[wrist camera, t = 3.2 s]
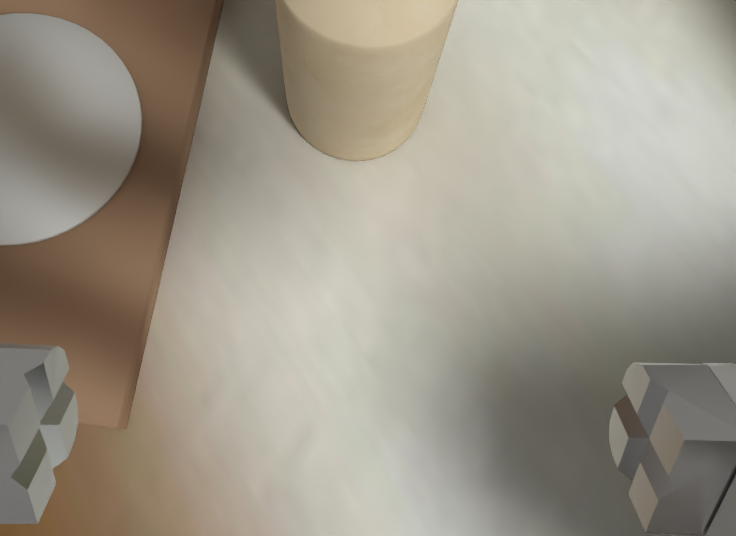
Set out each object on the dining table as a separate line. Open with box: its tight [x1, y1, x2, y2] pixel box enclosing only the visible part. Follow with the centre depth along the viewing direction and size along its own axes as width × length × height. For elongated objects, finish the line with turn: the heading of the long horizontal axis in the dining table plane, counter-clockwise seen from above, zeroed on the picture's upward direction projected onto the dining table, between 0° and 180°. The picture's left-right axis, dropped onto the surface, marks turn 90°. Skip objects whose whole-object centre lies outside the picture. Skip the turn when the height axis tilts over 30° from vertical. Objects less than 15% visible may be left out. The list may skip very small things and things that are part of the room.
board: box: [0, 0, 224, 429], centre depth 26 cm, size 20×12×2 cm, turn 171°
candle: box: [275, 0, 458, 161], centre depth 23 cm, size 6×6×10 cm
